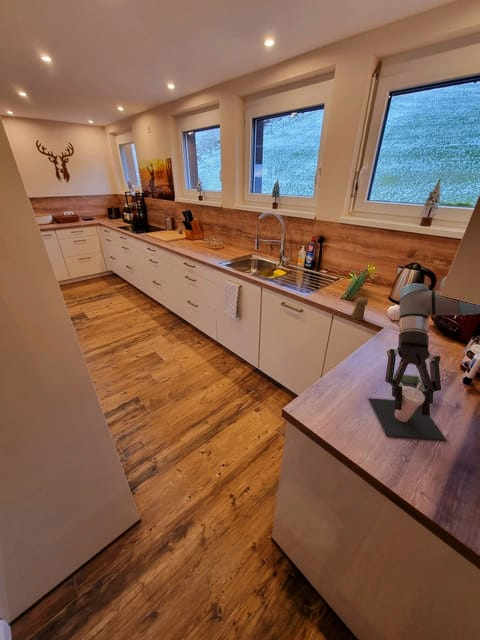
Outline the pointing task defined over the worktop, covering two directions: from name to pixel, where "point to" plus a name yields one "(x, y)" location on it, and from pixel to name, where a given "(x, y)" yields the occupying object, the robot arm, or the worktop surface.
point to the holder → (412, 381)
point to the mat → (413, 428)
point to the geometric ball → (394, 312)
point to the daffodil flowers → (358, 282)
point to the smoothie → (409, 402)
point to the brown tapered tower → (359, 309)
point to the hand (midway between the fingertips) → (411, 412)
